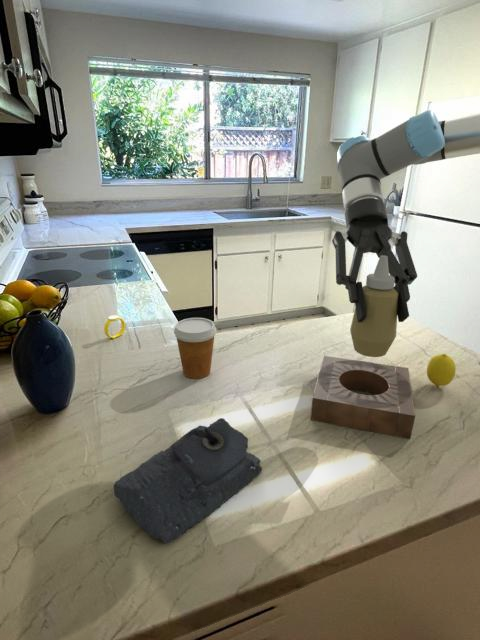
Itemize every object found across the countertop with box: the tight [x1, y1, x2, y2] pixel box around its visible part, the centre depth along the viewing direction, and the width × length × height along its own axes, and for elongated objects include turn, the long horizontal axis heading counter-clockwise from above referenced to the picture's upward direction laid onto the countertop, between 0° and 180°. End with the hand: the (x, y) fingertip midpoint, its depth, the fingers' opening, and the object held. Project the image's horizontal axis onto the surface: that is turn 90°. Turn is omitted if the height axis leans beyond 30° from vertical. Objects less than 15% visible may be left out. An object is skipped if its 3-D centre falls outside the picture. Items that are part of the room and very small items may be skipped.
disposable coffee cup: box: [173, 317, 217, 380], centre depth 92 cm, size 10×10×12 cm
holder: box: [310, 355, 416, 440], centre depth 82 cm, size 18×18×5 cm
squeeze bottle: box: [349, 255, 398, 358], centre depth 72 cm, size 8×8×18 cm
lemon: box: [426, 353, 457, 387], centre depth 88 cm, size 6×6×8 cm
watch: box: [103, 314, 126, 340], centre depth 110 cm, size 6×3×6 cm, turn 144°
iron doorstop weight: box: [113, 417, 263, 544], centre depth 62 cm, size 15×22×5 cm
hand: (383, 318), depth 69 cm, fingers closed on squeeze bottle, 6 cm apart
